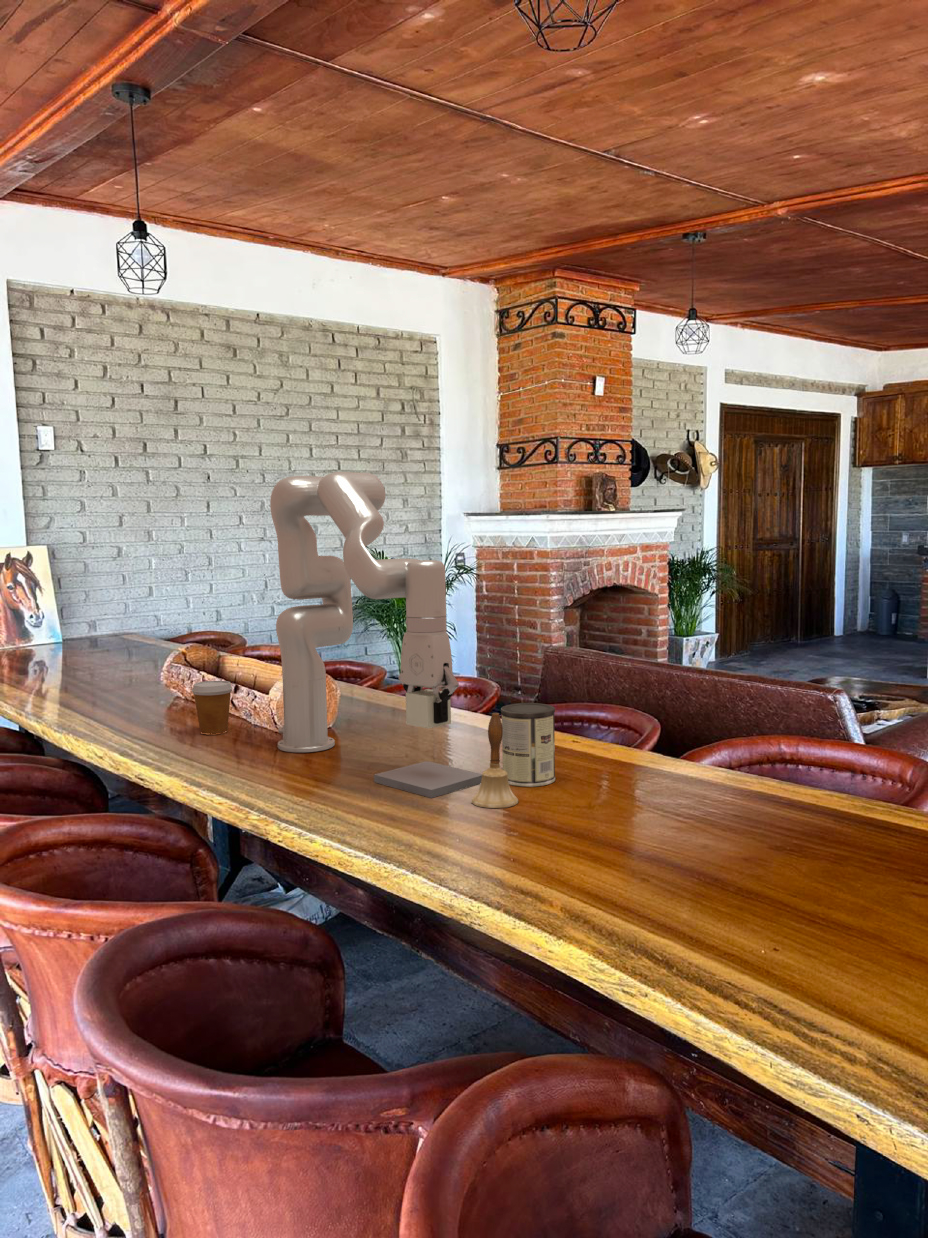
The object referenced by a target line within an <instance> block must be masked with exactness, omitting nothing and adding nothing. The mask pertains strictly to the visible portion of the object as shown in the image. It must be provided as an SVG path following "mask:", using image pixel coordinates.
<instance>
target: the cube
mask: <svg viewBox="0 0 928 1238" xmlns="http://www.w3.org/2000/svg"><path fill="white" fill-rule="evenodd" d="M441 693H442V690H440V694H441ZM451 701H452V700H451V699H450V700H449V701H448V721H447V722H443V723H438V724H436V723H434V702H436V700H435V696H434V693H433V689H432V688H427V689H422V690H421V691H415V692H410V693H407V692H405V717H406V718H405V719H406V720H405V723H406V725H407V726H412V727H418V728H422V729H431V728H432V729H433V728H436V727H441V726H446V725H450V724H451V723H452V715H451V713H452V709H451Z"/></svg>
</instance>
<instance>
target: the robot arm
mask: <svg viewBox="0 0 928 1238" xmlns="http://www.w3.org/2000/svg"><path fill="white" fill-rule="evenodd" d="M385 500H386V490H385V486H384V483H383V482H382V480H380V479H379V478H378V476H376V475H375V474H373V473H369V472H358V471H357V472H354V471H353V472H352V471H335V472H331V473H328V474H326V475H325V476H313V475H293V476H288V477H285V478H282V479H279V481H277V482H276V483H275V485H274V486H273V489H272V491H271V493H270V499H269V501H270V502H269V503H270V504H269V507H270V508H269V509H270V514H271V519H272V522H273V526H274V528H275V529H274V530H275V533H276V539H277V551H278V552H277V553H278V554H277V555H278V568H279V582H280V588H281V592H282V593H283V595H284V596H285V597H286V598H287V599H291V600H297V601H298V600H316V599H322V600H321V601H322V603H321V604H308V605H307V604H306V605H295V606H291V607H289V608H286V609H285V610H283V611H282V612H280V614H278V616H277V618H276V624H275V630H276V637H277V640H278V645H279V651H280V659H281V672H282V674H281V675H282V676H281V677H282V678H281V679H282V699H283V703H282V704H283V725H282V726H279V728H277V732H278V733H279V734H282V739H281V740H279V741H278V742H277V749H278V750H280V751H282V752H287V753H300V754H301V753H315V752H321V751H326V750H329V749H332V748H333V747H334V746H335V744H336V743H335V741H336V740H335V739H334V738H333V737H330V736H329V735H328V707H327V705H328V704H327V677H326V676H327V675H326V672H327V671H326V667H325V663H324V661H323V659H322V657H321V656H320V655H319V653H318V652H317V649H318V648H322V647H330V646H338V645H339V646H340V645H342V644H345V643H346V642H348V641H349V639H350V638H351V635H352V633H353V630H354V629H353V627H354V618H353V617H354V615H353V600H352V585H351V584H352V582H353V584H354V585H355V587H356V588H357V589H358V591H360V593H361V594H363V595H364V596H365V597H367V598H369V599H371V600H384V599H402V598H405V611H406V612H405V613H406V614H405V615H406V618H405V619H406V620H405V624H406V632H404V633H403V638H402V642H401V643H402V644H401V653H400V654H401V656H400V674H399V675H398V676H397V677H398V680H399V682H400V683H401V684H402V687H403V689H404V691H405V693H410V692H415V691H421V690H424V689H423V688H427V689H432V690H433V693H434V696H435V700H436V702H434V723H436V724H438V723H443V722H447V721H448V701H449V700H451V697H452V696H453V694H455V693H454V692H456V690H457V688H458V687H459V685H460V684H459V682H458V680H457V679H456V677H455V675H454V673H453V660H452V659H453V657H452V648H451V642H450V638H449V633H448V631H447V630H448V629H447V592H446V591H447V589H446V587H447V585H446V583H447V582H446V567H445V564H444V562H442V561H440V560H435V559H433V560H432V559H431V560H430V559H426V560H425V559H423V560H422V559H421V560H420V559H415V558H385V559H384V558H383V559H382V558H381V559H376V558H375V557H374V556H372V554H371V553H370V552H369V550H368V549H367V546H369V545H370V544H372V543H374V541H375V540H377V539H378V537H380V535H381V534H382V532H383V529H384V526H385V525H384V523H385V522H384V519H383V516H382V514H381V513H380V512H379V510H380V509H382V508H383V506H384V504H385ZM307 516H309V517H310V516H314V517H315V516H317V517H318V516H320V517H321V516H322V517H323V516H324V517H326V516H329V517H330V518H331V520H332V522H334V524H335V525H336V526H337V528H338V529H339V531H340V532H341V534H342V535H343V537H344V538H345V540H344V543H343V548H342V558H343V559H341V558H340V557H339V556H335V555H319V553H318V543H317V542H318V541H317V535H316V533H315V530H314V529H313V527H312V525H311V524H310V522H309V521H308V520H307V518H305V517H307ZM440 691H442V693H441V694H440Z"/></svg>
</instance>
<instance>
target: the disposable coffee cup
mask: <svg viewBox="0 0 928 1238" xmlns="http://www.w3.org/2000/svg"><path fill="white" fill-rule="evenodd" d="M231 683H232V682H231V681H228V680H207V681H199V682H195V683H193V686H192V689H191V692H192V694H193V697H194V702H195V708H196V715H197V720H198V726H199V732H200V731H201V732H202V733H210V734H211V733H212V734H216V733H223V732H225V731H227V730H228V731H229V729H228V728H229V717H230V708H231V694H232V693H231V692H232V690H233V686H232V684H231ZM228 731H227V732H228Z"/></svg>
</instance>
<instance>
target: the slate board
mask: <svg viewBox="0 0 928 1238" xmlns="http://www.w3.org/2000/svg"><path fill="white" fill-rule="evenodd" d="M481 781H482V773H479V772H475V771H470V770H466V769H462V768H459V767H454V766H450V765H444V764H443V763H442V764H441V763H437V762H433V761H429V760H425V761H422V762H421V761H420V762H418V763H414V764H409V765H406V766H402V767H398V768H394V769H390V770H386V771H382V772H378V773H376V774H373V783H375V784H379V785H383V786H385V787H386V786H387V787H389V788H394V789H397V790H401V791H405V792H408V793H411V794H416V795H418V796H422V797H426V798H429V799H433V798H438V797H440V796H444V795H447V794H450V793H454V792H457V791H460V789H461V790H464V789H466V788H470V787H469V786H471V787H474V786H477V785H481V784H480V783H481ZM473 785H474V786H473Z"/></svg>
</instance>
